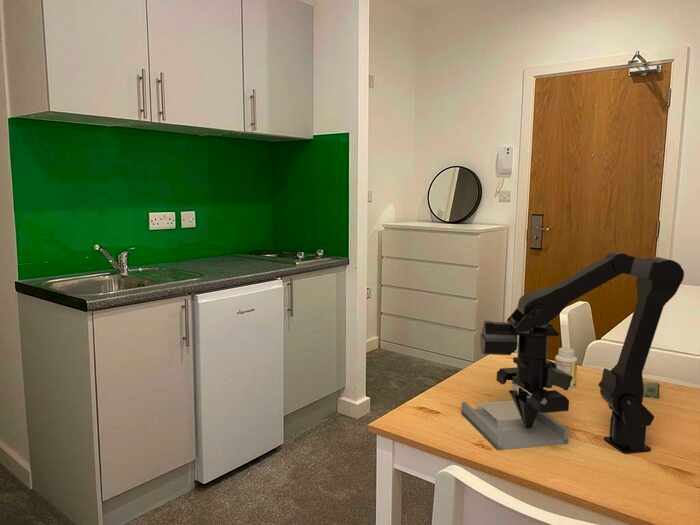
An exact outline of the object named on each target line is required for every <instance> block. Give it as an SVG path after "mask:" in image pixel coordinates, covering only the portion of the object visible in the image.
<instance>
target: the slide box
mask: <svg viewBox="0 0 700 525" xmlns="http://www.w3.org/2000/svg"><path fill="white" fill-rule="evenodd" d="M460 413H461V416H463V417H464V419H465V420H466V421H467V422H468V423H469V424H471V426H472V427H473V428H475V430H476V431H477V432H478V433H480V435H481V436H483V438H484V439H485V440H486V441H487V442H488V443H490V445H492V447H493V448H495V450H496V451H503V450H505V451H506V450H513V449H525V448H527V449H528V448H535V447H536V448H537V447H546V446H547V447H548V446H558V445H559V446H560V445H567V444H569V437H570V436H569V435H570V429H568V428H567V427H565V425H563V424H561V423H560V422H559V421H557V420H556V419H554V418H553V417H552V416H550V415H549V414H548V413H542V412H538V414H537V417H536V420H535V426H532V428H529V429H527V428H526V427H519V428H507V429H496V428H495V427H494V426H493V425H492V424H491V423H490V422H489V421H488V420H487V419H485V418H484V417H483V416H482V415H481V414H480V413H479V412H478V411H477V408H476V409H474V408H473V407H472V406H471V405H470V404H469V403H468V402H467V401H462V402H461V412H460Z"/></svg>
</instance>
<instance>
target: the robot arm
mask: <svg viewBox="0 0 700 525" xmlns="http://www.w3.org/2000/svg"><path fill="white" fill-rule="evenodd" d="M622 274H624V275H629V276H633V277H636V281H635V282H636V283H635V284H636V292H637V293H636V294H637V301H636V303H635V307H634V311H633V313H632V317H631V319H630V323H629V326H628V330H627V332H626V336H625V338H624V342H623V345H622V348H621V351H620V355H619V357H618V361H617V363H616V364H615V365H614V366H613V367H612V368H611V369H609V368H605V367H604V368H603V371H602V376H601V380H600V381H599V383H598V385H597V386H598V387H599V388H600V389H599V393H600V395H601V397H602V399H603V401H605V403H606V404H608V407H609V409H610V410H612V411H611V417H610V424H609V425H610V426H609V436H603V441H605V442H606V443H608V444H609V445H611V446H613V447H614V448H615V449H616V450H618V451H620V452H621V453H623V454H630V453H641V452H642V453H643V452H651V451H652V448H651V447H650V446H649V445H647V444H646V434H647V427H649V426H651V425H652V423H653V421H654V419H655V416H654V415H653V414H652V412H651V411H649V409H648V408H647V407H646V406H645V405H644V404H643V400H644V397H643V394H644V385H643V381H644V378H643V371H644V370H645V367H646V366H645V365H646V362H647V360H648V356H649V353H650V350H651V347H652V344H653V341H654V337H655V335H656V331H657V328H658V326H659V322H660V320H661V316H662V313H663V310H664V307H665V305H667V303H668V302H669V301H670V300H671V299H672V298H673V297H674V296H675V295H676V294H677V292H678V290H679V288H680V286H681V285H682V282H683V280H684V279H685V278H684V277H685V271H684V269H683V267H682V266H681V264H680V263H679V262H677V261H674V260H673V259H669V258H664V257H659V256H649V257H646V258H645V259H644V258H640V257H637V256H636V257H635V256H631V255H628V254H627V253H623V252H620V251H610V252H608V253H607V254H606V255H605V256H604V257H602V258H600V259H598V260H596V261H595V262H593V263H591V264H590V265H587V266H586V267H584V268H582V269H581V270H579V271H578V272H575V273H574V274H572V275H570V276H568V277H567V278H565V279H564V280H562V281H560V282H558V283H557V284H554V285H550V286H547V287H541V288H539V289H535V290H533V291H530V292H528V293H525V294H523V295H522V296H521V297H520V298H519V299H518V303H517V307H516V308H515V310H514V311H513V312H512V313H511V314H510V316H508V317H507V319H506V321H503V322H502V321H492V320H483V327H482V329H481V333H480V335H479V336H480V338H479V340H480V352H481V354H482V355H492V356H493V355H494V356H495V355H497V356H511V355H512V353H513V354H515V351H517V356H516V357H515V356H514V357H513V358H512V362H513V363H514V364H516V367H503V368H502V367H501V368H500V369H499V370H498V371H496V382H498V383H499V384H501V385H505V384H507V381H511V385H512V389H511V390H510V389H509V391H508V393H509V394H510V396H511V398H512V400H513V401H514V403H515V405H516V407H517V409H518V412H519V414H520V416H521V419H522V421H523V424H524V426H525V427H526V428H527V429H529V428H532V425H533V423H534V421H535V419H536V417H537V414H538V412H542V413H546V414H548V413H560V412H561V413H562V412H569V410H570V400H569V399H568V397H567V396H566V395H564V394H562V393H560V392H559V391H557V390H556V389H554V390H547V389H552V388H553V386H555V387H558V388H560V389H562V390H564V391H567V392H568V391H569V389H570V388H569V386H570V383H571V381H572V378H573V376H571V375H569V374H567V373H565V372H564V371H562V370H559V369H557V368H556V363H555V361H552V360H549V359H548V347H549V346H548V344H549V337H559V336H560V333H559V332H558V331H557V330H556V329H555V328H554V326H553V324H552V323H551V321H553V320H554V319H555V318H556V317H557V316H559V315H560V314H561V313H562V312H563V310H564V309H565V308H566V307H567V306H568V305H569V304H571V303H572V302H574V301H575V300H577V299H579V298H580V297H582V296H585V295H586V294H588V293H589V292H592V291H593V290H595V289H597V288H598V287H600V286H602V285H604V284H606V283H607V282H609V281H611V280H612V279H614V278H616V277H618V276H620V275H622Z"/></svg>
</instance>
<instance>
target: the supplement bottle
mask: <svg viewBox="0 0 700 525" xmlns="http://www.w3.org/2000/svg"><path fill="white" fill-rule="evenodd" d="M575 351H576V350H575V349H573V348H571V347H559V348H558V352H557V353H558V354H556V355H555V357H554V363H556V368H557V369H559V370H562V371H564V372H565V373H567V374H569V375H571V376H573V378H572V381H571V383H570V386H569V388H568V389H574V388H576V386H577V385H576V384H577V369H578V368H577V367H578V357H576V356H575V353H576V352H575Z"/></svg>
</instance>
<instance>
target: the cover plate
mask: <svg viewBox="0 0 700 525" xmlns="http://www.w3.org/2000/svg"><path fill="white" fill-rule="evenodd" d="M476 409H477V411H478V412H479V413H480V414H481V415H482V416H483V417H484V418H485V419H487V420H488V421H489V422H490V423H491V424H492V425H493V426H494V427H495V428H496V429H507V428H519V427H525V426H524V424H523V421H522V419H521V416H520V414H519V412H518V409H517V407H516V405H515V403H514V400H513V399H511V400H500V401H497V400H496V401H485V402H483V401H482V402H477V407H476ZM535 420H536V419H535ZM532 426H535V421H534V423H533V425H532Z"/></svg>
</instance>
